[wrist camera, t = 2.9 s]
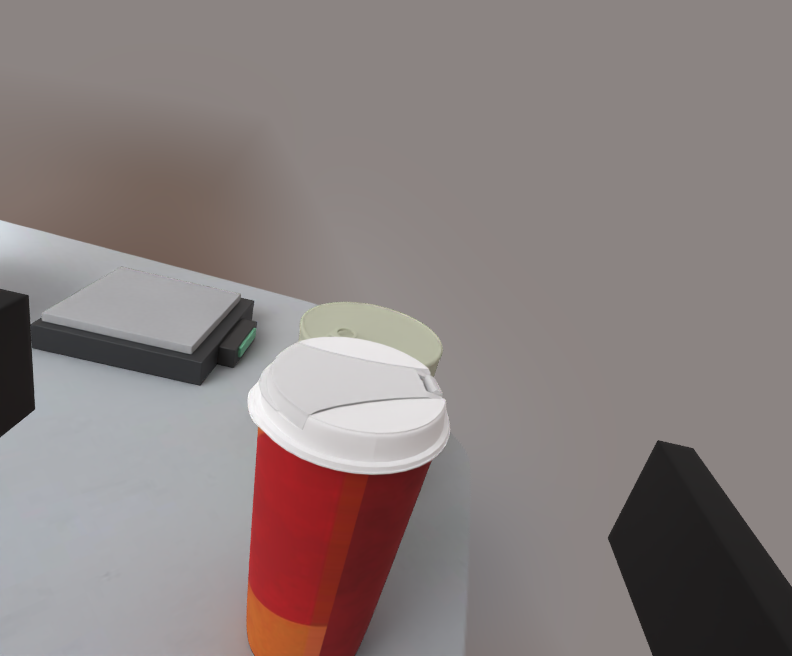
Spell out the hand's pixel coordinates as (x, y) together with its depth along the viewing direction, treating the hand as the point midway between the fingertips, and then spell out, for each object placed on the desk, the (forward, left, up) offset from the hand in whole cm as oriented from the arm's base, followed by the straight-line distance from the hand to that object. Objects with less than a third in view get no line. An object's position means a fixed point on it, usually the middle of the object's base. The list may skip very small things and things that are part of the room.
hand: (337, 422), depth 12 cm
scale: (+20, -36, -19) cm, 45 cm away
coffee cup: (0, -10, -20) cm, 22 cm away
